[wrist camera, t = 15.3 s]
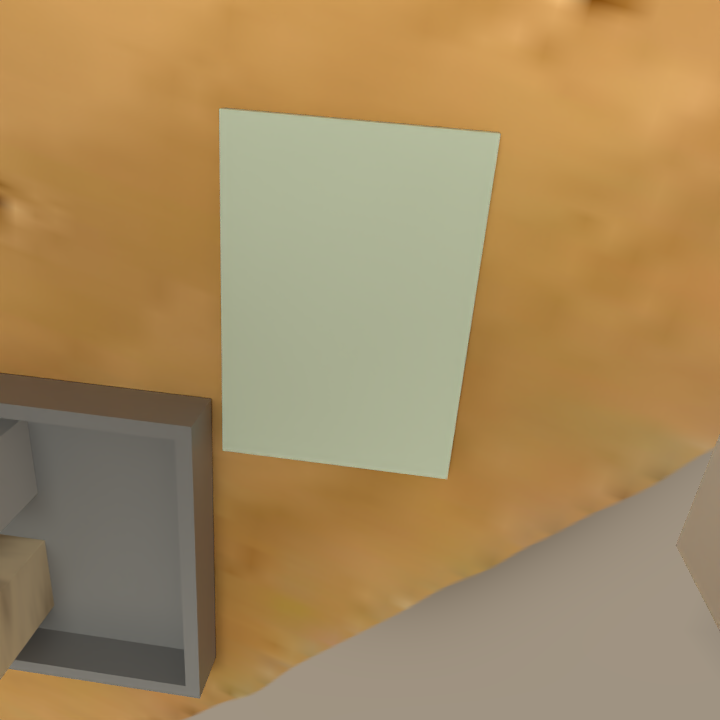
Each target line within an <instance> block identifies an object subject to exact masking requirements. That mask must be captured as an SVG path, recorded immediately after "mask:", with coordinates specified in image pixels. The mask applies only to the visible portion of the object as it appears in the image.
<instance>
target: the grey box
mask: <svg viewBox="0 0 720 720" xmlns="http://www.w3.org/2000/svg"><path fill="white" fill-rule="evenodd" d="M37 493H38V492H37V485H36V478H35V471H34V464H33V458H32V451H31V444H30V437H29V430H28V424H27V421H21V420H13V419H5V418H0V532H1V531H2V530H3V529H4V528H5V527H6V525H7V524H8V523H9V522H10V521H11V520H12V519H13V518H14V517H15V516H16V515H17V514H18V513H19V512H20V511H21V510H22V509H23V508H24V507H25V506H26V505H27V504H28V503H29V502H30V501H31V500H32V499H33V497H34V496H35V495H36V494H37Z"/></svg>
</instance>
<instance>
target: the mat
mask: <svg viewBox="0 0 720 720" xmlns="http://www.w3.org/2000/svg"><path fill="white" fill-rule="evenodd" d="M219 140H220V242H221V343H222V444H223V451H230V452H238V453H246V454H253V455H261V456H269V457H277V458H285V459H293V460H300V461H308V462H316V463H324V464H332V465H340V466H348V467H355V468H363V469H371V470H379V471H387V472H395V473H402V474H410V475H418V476H426V477H434V478H442V479H447V477H448V470H449V464H450V457H451V451H452V444H453V438H454V431H455V425H456V418H457V412H458V406H459V399H460V393H461V386H462V380H463V373H464V367H465V360H466V354H467V347H468V341H469V335H470V328H471V322H472V315H473V309H474V302H475V296H476V289H477V283H478V276H479V270H480V263H481V257H482V251H483V244H484V238H485V231H486V225H487V218H488V212H489V205H490V199H491V192H492V186H493V180H494V173H495V167H496V160H497V154H498V147H499V141H500V133H499V132H491V131H480V130H469V129H458V128H446V127H435V126H424V125H413V124H402V123H390V122H379V121H368V120H357V119H346V118H334V117H323V116H312V115H301V114H289V113H278V112H267V111H256V110H245V109H233V108H220V109H219Z"/></svg>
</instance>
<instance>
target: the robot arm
mask: <svg viewBox="0 0 720 720" xmlns="http://www.w3.org/2000/svg"><path fill="white" fill-rule="evenodd" d="M676 546H677V548H678V550H679V552H680V554H681V556H682V558H683V560H684V562H685V564H686V566H687V568H688V570H689V572H690V574H691V576H692V578H693V580H694V582H695V583H696V586H697V587H698V589H699V591H700V593H701V595H702V597H703V599H704V601H705V603H706V605H707V607H708V609H709V611H710V613H711V615H712V617H713V619H714V621H715V623H716V625H717V627H718V629H719V631H720V435H719V438H718V440H717V443H716V445H715V448H714V450H713V453H712V455H711V458H710V461H709V463H708V465H707V468H706V471H705V473H704V476H703V478H702V481H701V484H700V486H699V488H698V491H697V493H696V496H695V498H694V501H693V504H692V506H691V509H690V512H689V514H688V516H687V519H686V521H685V524H684V527H683V529H682V531H681V534H680V536H679V539H678V542H677V544H676Z"/></svg>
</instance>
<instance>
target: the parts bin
mask: <svg viewBox="0 0 720 720" xmlns="http://www.w3.org/2000/svg"><path fill="white" fill-rule="evenodd" d="M0 418H5V419H13V420H21V421H27V424H28V430H29V437H30V444H31V451H32V458H33V464H34V471H35V478H36V485H37V492H38V493H37V494H36V495H35V496H34V497H33V499H32V500H31V501H30V502H29V503H28V504H27V505H26V506H25V507H24V508H23V509H22V510H21V511H20V512H19V513H18V514H17V515H16V516H15V517H14V518H13V519H12V520H11V521H10V522H9V523H8V524H7V525H6V527H5V528H4V529H3V530H2V531H1V532H0V534H3V535H10V536H17V537H24V538H31V539H38V540H45V546H46V553H47V559H48V566H49V573H50V580H51V587H52V593H53V600H54V606H53V608H52V609H51V611H50V612H49V613H48V615H47V616H46V617H45V619H44V620H43V622H42V623H41V624H40V626H39V627H38V628H37V630H36V631H35V633H34V634H33V635H32V637H31V638H30V639H29V641H28V642H27V643H26V645H25V646H24V648H23V649H22V650H21V652H20V653H19V654H18V656H17V657H16V659H15V660H14V661H13V663H12V664H11V665H10V667H9V668H8V669H14V670H20V671H27V672H33V673H40V674H46V675H53V676H59V677H65V678H72V679H78V680H85V681H91V682H98V683H104V684H110V685H117V686H123V687H130V688H136V689H143V690H149V691H155V692H162V693H168V694H175V695H181V696H188V697H194V698H200V697H201V694H202V692H203V689H204V686H205V684H206V681H207V679H208V676H209V673H210V671H211V668H212V666H213V663H214V660H215V658H216V642H215V584H214V526H213V468H212V411H211V399H209V398H201V397H193V396H184V395H176V394H168V393H160V392H152V391H143V390H135V389H127V388H119V387H111V386H102V385H94V384H86V383H78V382H70V381H61V380H53V379H45V378H37V377H28V376H20V375H12V374H4V373H0Z"/></svg>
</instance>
